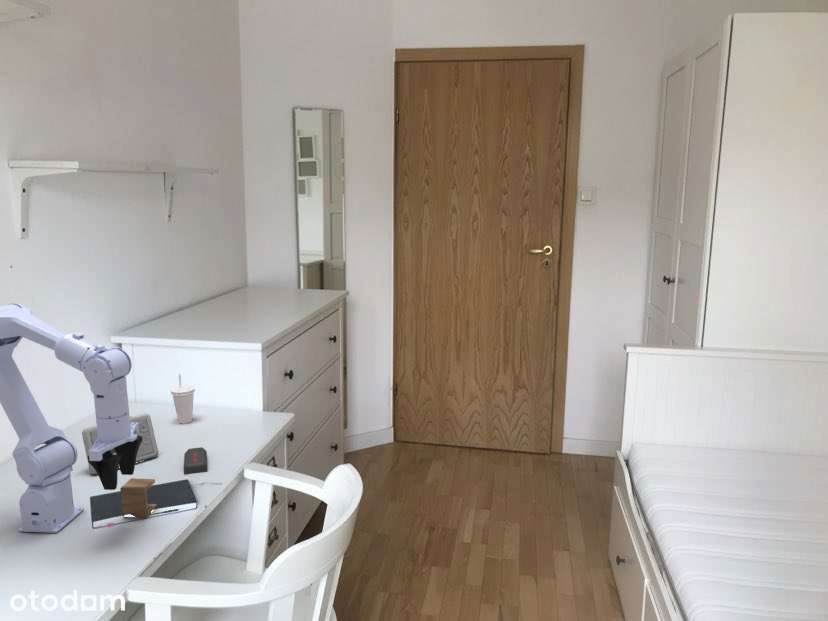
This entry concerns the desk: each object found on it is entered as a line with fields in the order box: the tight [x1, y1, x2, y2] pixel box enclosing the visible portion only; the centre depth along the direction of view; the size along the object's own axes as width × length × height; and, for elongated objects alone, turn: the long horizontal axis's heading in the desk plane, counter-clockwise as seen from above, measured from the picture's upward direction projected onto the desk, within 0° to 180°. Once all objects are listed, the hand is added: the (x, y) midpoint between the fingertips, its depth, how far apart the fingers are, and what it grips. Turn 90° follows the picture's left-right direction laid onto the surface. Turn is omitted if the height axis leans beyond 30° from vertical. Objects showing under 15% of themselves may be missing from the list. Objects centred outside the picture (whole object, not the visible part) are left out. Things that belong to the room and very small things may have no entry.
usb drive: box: [183, 446, 209, 476], centre depth 158 cm, size 5×12×3 cm, turn 18°
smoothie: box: [170, 373, 196, 424], centre depth 185 cm, size 6×6×14 cm
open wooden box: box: [119, 477, 158, 519], centre depth 133 cm, size 4×5×6 cm
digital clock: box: [81, 413, 159, 475], centre depth 157 cm, size 16×9×11 cm, turn 123°
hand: (119, 481), depth 126 cm, fingers open, 6 cm apart
